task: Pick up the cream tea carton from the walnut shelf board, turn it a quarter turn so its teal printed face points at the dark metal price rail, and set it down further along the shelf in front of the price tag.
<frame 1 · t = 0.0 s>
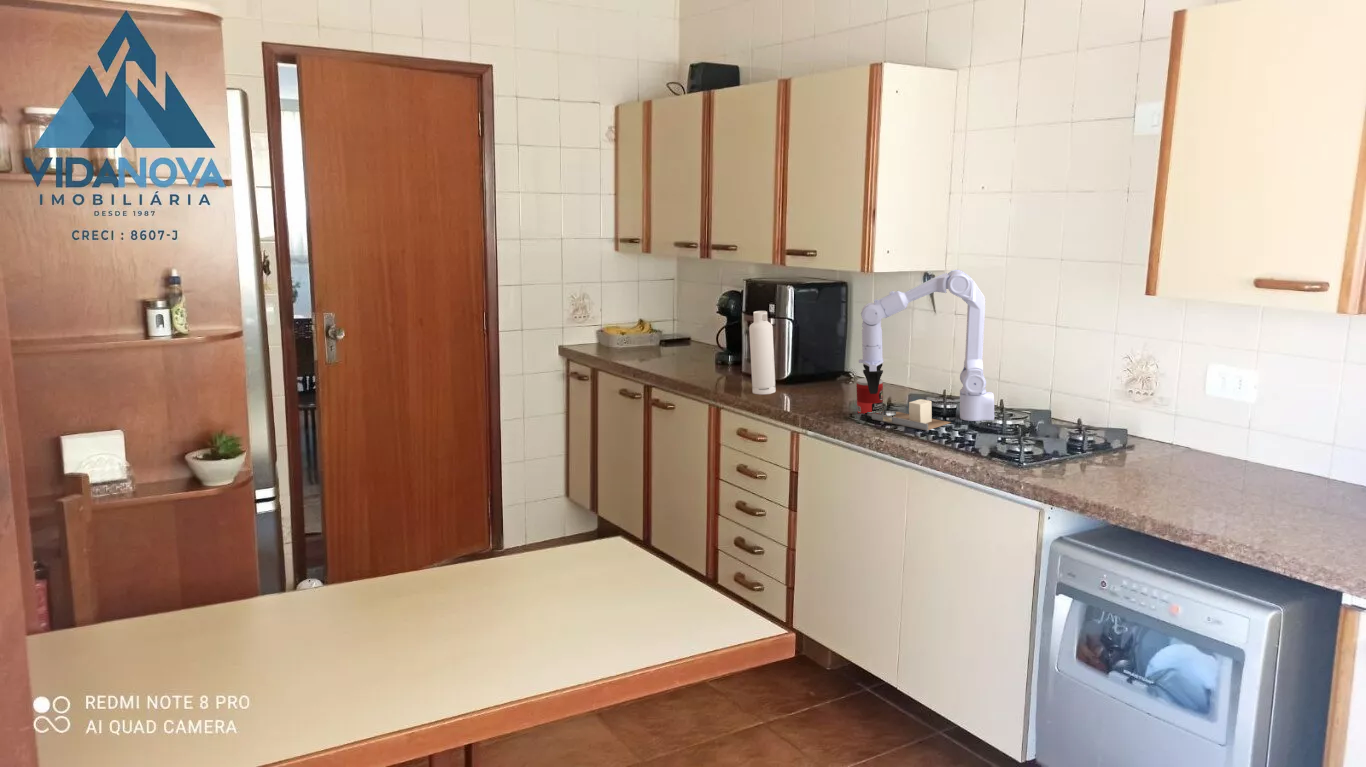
hand: (873, 390, 275), 10 cm above the counter, fingers open, 7 cm apart
shelf: (911, 425, 273), on the counter
bottle: (764, 392, 328), on the counter
canned food: (870, 416, 287), on the counter
tea carton: (920, 422, 271), point 1 cm above the counter, touching shelf
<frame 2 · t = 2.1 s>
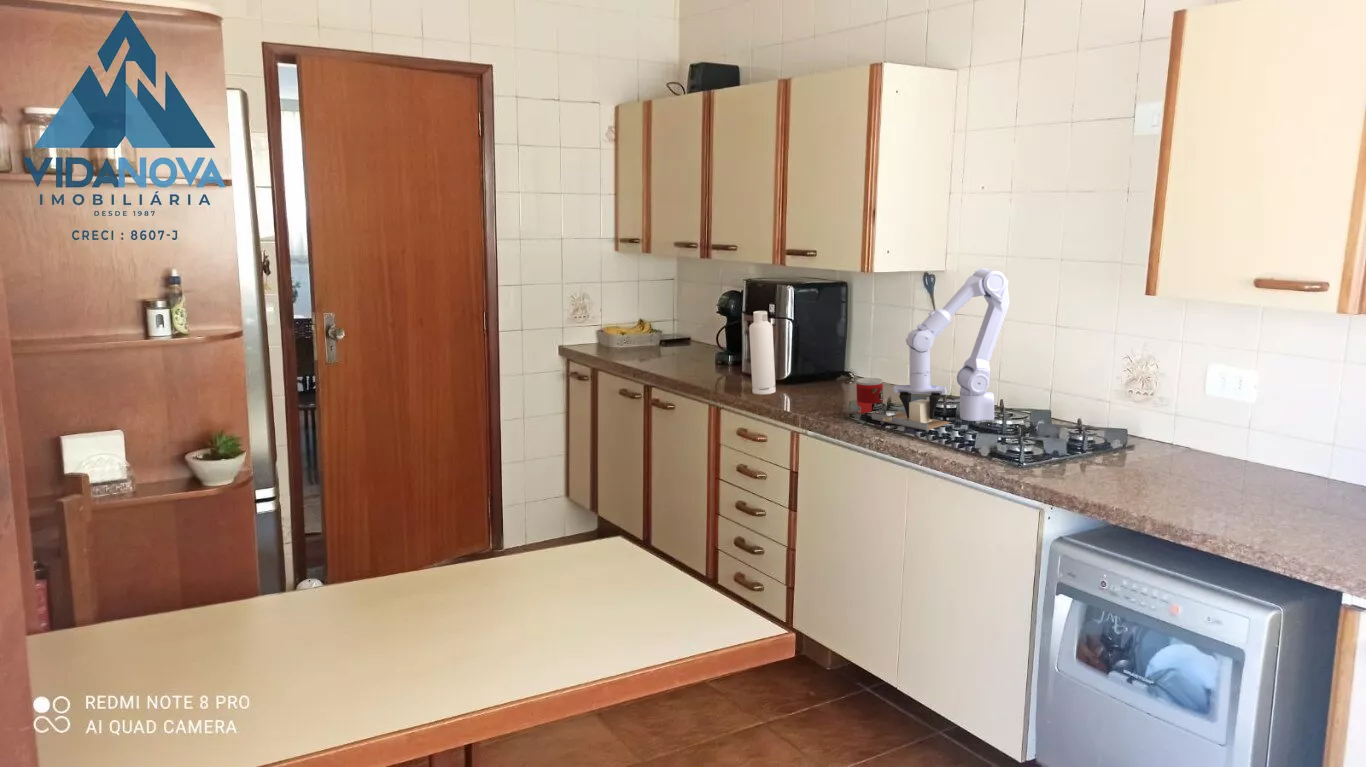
hand: (920, 417, 270), 3 cm above the counter, fingers closed on tea carton, 6 cm apart
tea carton: (920, 422, 271), point 1 cm above the counter, touching gripper, shelf
everything else where it was.
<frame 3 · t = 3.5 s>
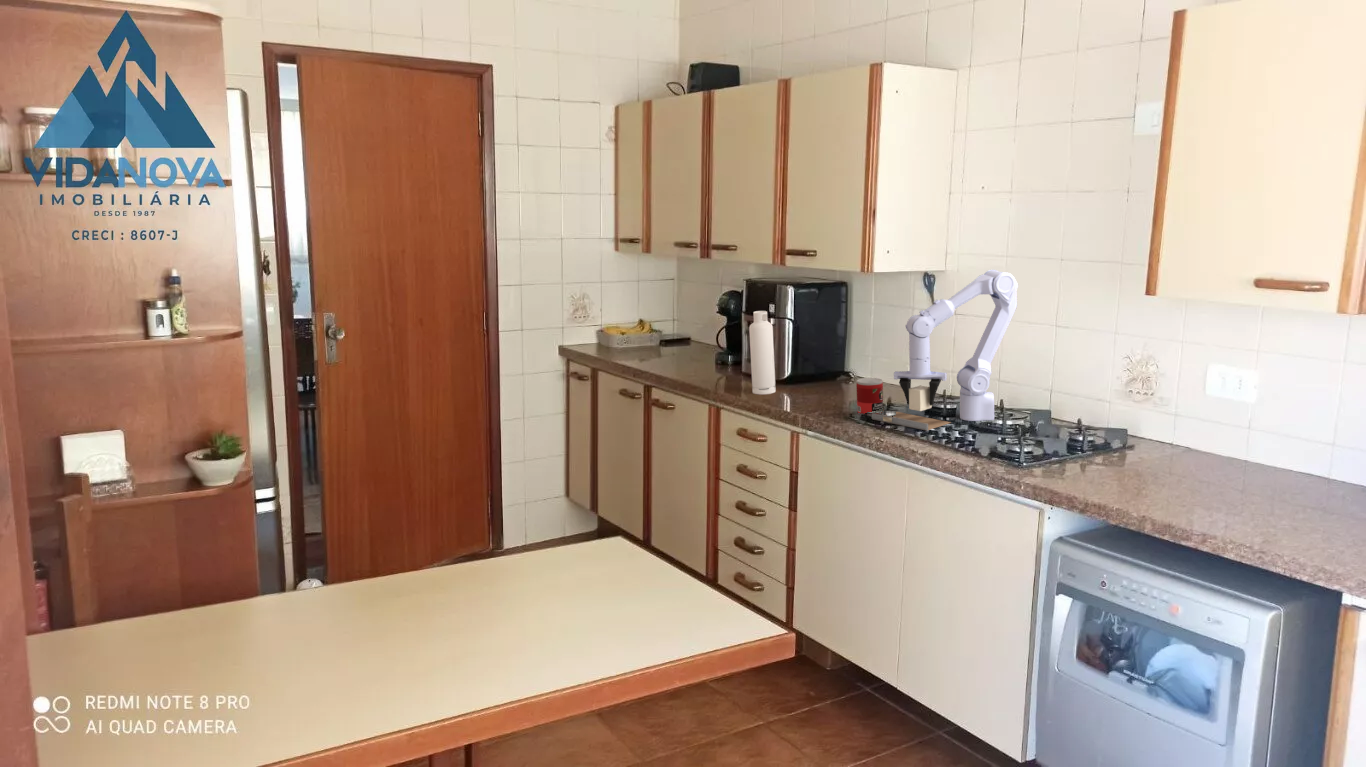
hand: (920, 404, 269), 7 cm above the counter, fingers closed on tea carton, 6 cm apart
tea carton: (920, 408, 270), point 6 cm above the counter, touching gripper
everything else where it was.
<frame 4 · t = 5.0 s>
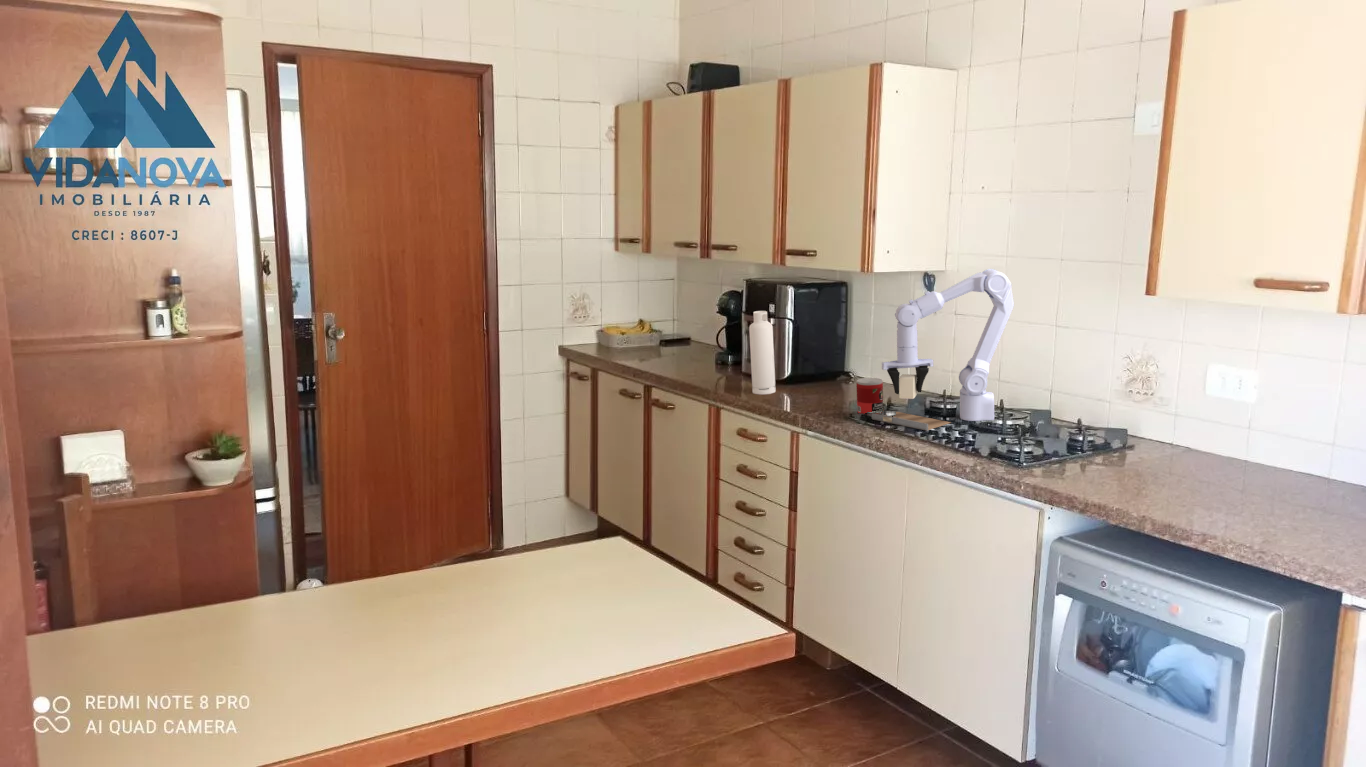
hand: (907, 392, 272), 10 cm above the counter, fingers closed on tea carton, 6 cm apart
tea carton: (908, 396, 272), point 8 cm above the counter, touching gripper
everything else where it was.
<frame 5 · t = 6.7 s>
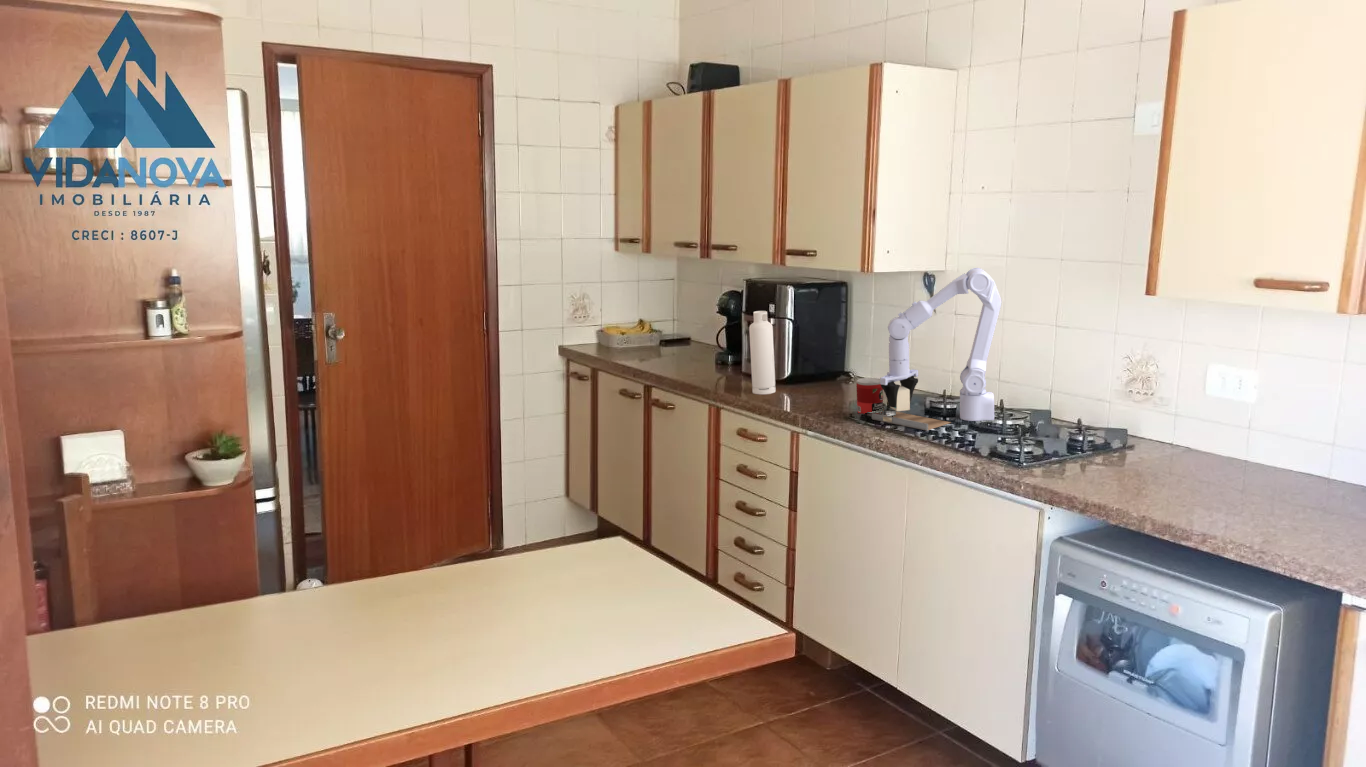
hand: (899, 404, 275), 6 cm above the counter, fingers closed on tea carton, 6 cm apart
tea carton: (899, 408, 275), point 4 cm above the counter, touching gripper
everything else where it was.
when the fingers open (4 cm above the counter, at t = 8.3 s): tea carton stays where it is, resting on shelf.
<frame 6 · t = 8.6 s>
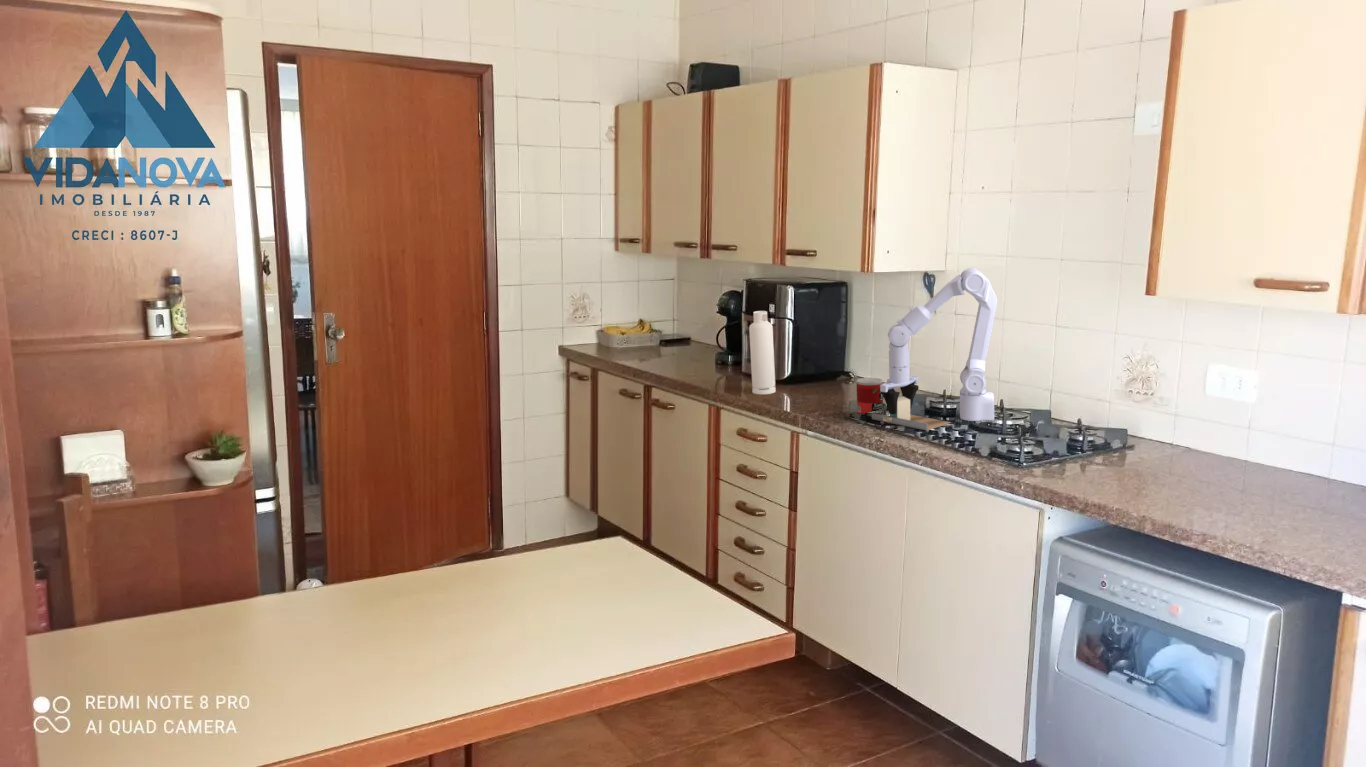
hand: (900, 411, 275), 4 cm above the counter, fingers open, 6 cm apart
tea carton: (900, 418, 276), point 1 cm above the counter, touching shelf
everything else where it was.
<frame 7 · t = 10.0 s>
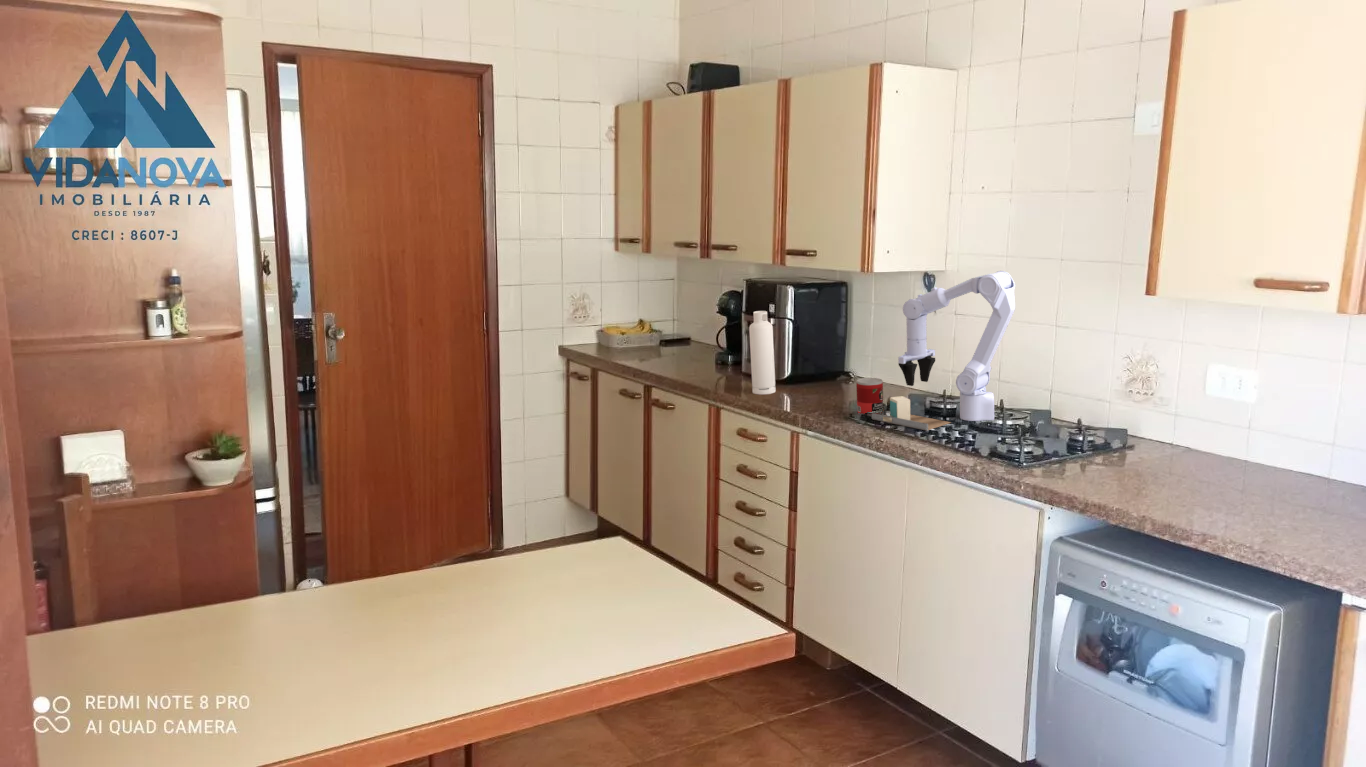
hand: (917, 383, 281), 10 cm above the counter, fingers open, 6 cm apart
nothing on the counter moved.
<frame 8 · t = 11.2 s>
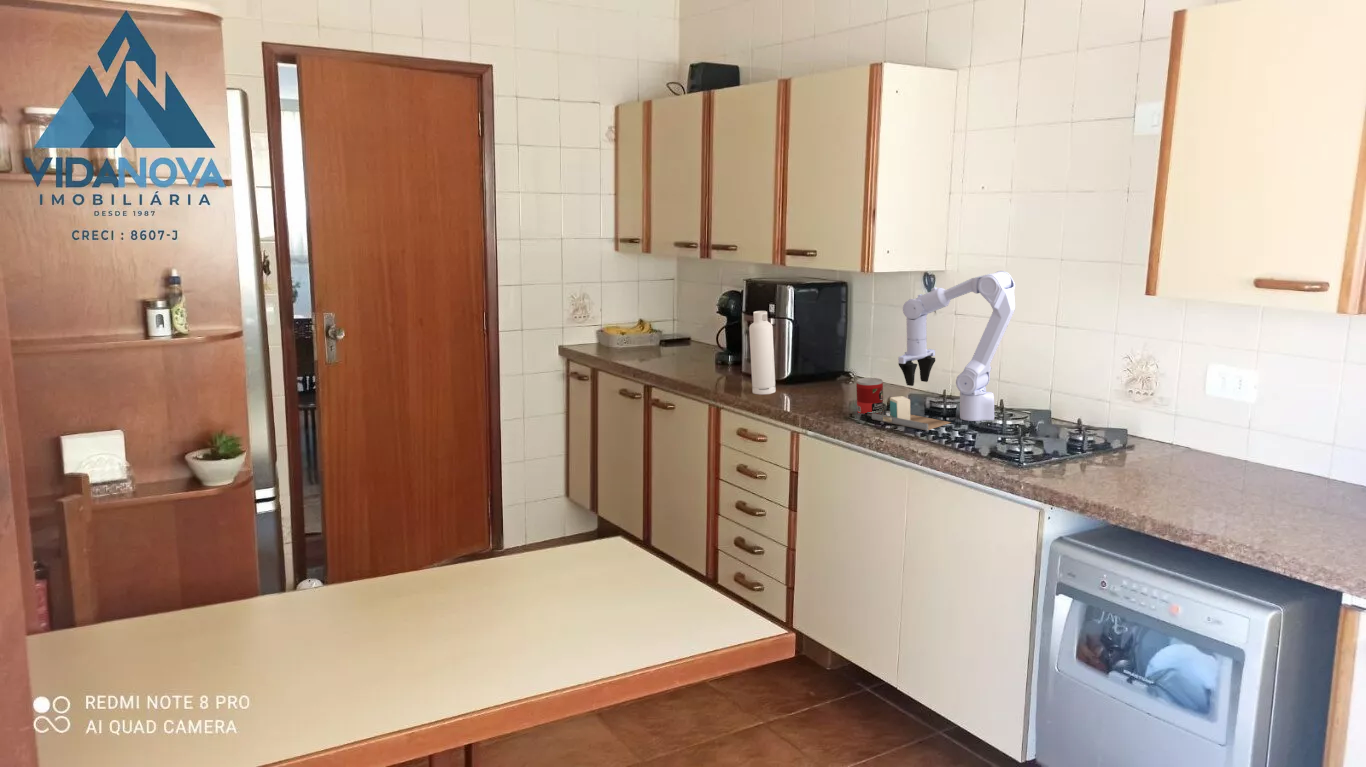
hand: (917, 383, 281), 10 cm above the counter, fingers open, 6 cm apart
nothing on the counter moved.
at the end: tea carton 0.1 cm from the target spot on the shelf, point 1.5 cm above the shelf's base; tea carton tilted 0°; the gripper is holding nothing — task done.
